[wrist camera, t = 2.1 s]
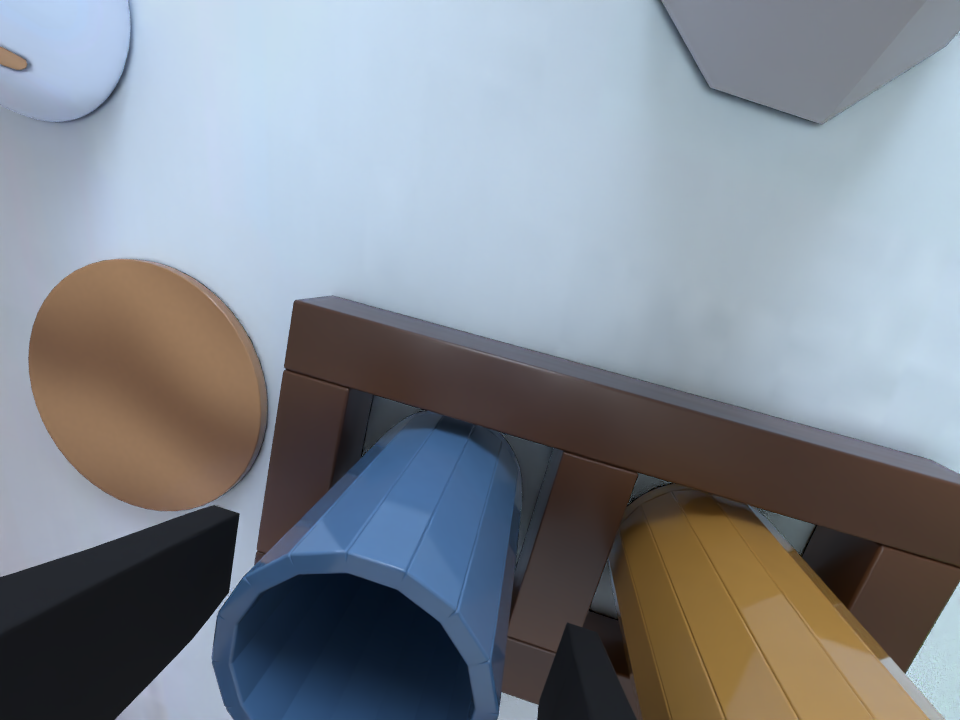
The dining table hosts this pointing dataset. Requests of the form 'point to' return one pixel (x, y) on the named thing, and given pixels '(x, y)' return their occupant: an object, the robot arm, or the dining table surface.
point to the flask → (811, 47)
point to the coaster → (147, 384)
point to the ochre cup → (740, 622)
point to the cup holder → (612, 473)
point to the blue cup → (384, 588)
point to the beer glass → (61, 55)
